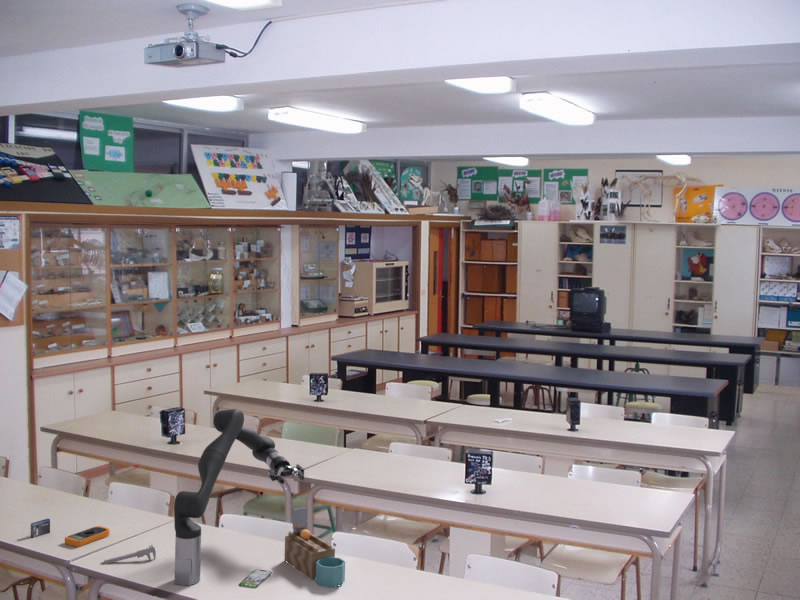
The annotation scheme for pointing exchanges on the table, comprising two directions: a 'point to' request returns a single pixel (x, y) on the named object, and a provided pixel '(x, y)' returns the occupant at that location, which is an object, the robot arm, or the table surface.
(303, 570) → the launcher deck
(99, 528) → the multimeter
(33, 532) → the mini dv tape
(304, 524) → the gray rectangular block
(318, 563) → the cup
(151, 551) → the caliper
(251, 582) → the smartphone
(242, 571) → the table surface
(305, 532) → the ball
